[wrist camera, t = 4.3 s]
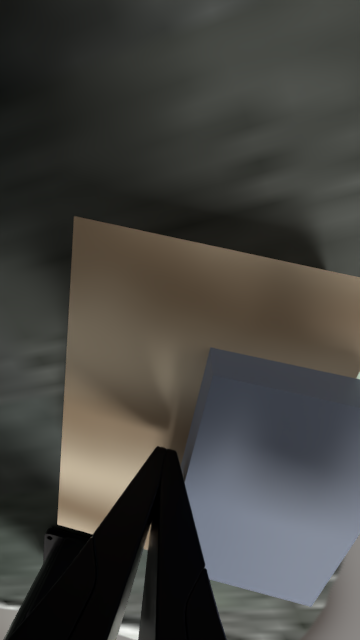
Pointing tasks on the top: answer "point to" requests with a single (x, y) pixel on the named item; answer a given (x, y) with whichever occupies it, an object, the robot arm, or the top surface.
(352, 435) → the block
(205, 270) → the beige shallow box
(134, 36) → the top surface
